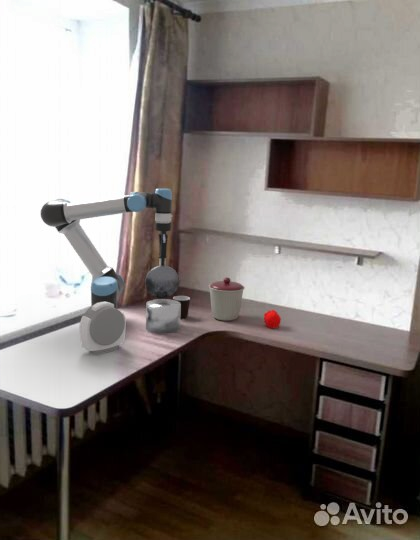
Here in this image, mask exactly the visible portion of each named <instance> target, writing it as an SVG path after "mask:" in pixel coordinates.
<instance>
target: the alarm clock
mask: <svg viewBox="0 0 420 540" xmlns="http://www.w3.org/2000/svg"><path fill="white" fill-rule="evenodd" d="M126 323H127V321H126V316H125V313H124V312H123V311H121V310H120V309H118V308H117V309H116V308H114V304H112V303H109V302H106V301H105V302H99V303H96V304H94V305H93V306H91V305H90V307H89V308H87V310H86V311H85V312H84V314H83V315H81V318H80V323H79V335H80V343H81V347H82V348H83V349H85V350H87V351H88V352H89V353H91V354H92V355H94V356H97V355H102V354H105V353H109V352H113V351H116V350H118V349H119V345H122V344H123V343H125V337H126V329H127V324H126Z"/></svg>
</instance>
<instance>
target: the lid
mask: <svg viewBox="0 0 420 540" xmlns="http://www.w3.org/2000/svg"><path fill="white" fill-rule="evenodd" d="M179 286H180V277H179V275H178V273H177V272H176V270H175V269H174V268H173V267H170V266H168V265H165V266H164V265H161V266H159V265H157V266H154V267H153V268H151V269H150V270H149V271H148V273H147V274H146V277H145V287H146V290H147V292H148V293H149V294H150V295H151V296H153V297H155V298H157V299H158V298H159V299H167V298H169V297H171V296H173V295H174V294H175V293H176V292H177V291H178V288H179Z"/></svg>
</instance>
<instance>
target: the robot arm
mask: <svg viewBox="0 0 420 540" xmlns="http://www.w3.org/2000/svg"><path fill="white" fill-rule="evenodd" d="M172 195H173V192H172V190H171V188H161V187H160V188H156V189H155V192H144V191H142V192H141V191H131V192H130V193H129V194H127V195H120V196H112V197H105V198H100V199H99V198H98V199H91V200H84V201H77V202H76V201H75V202H71V201H70V200H68V199H65V198H64V199H63V198H58V199H55V200H50V201H47V202H45V203H44V204H43V206H42V207H41V209H40V217H41V221H42V222H44V224H45V225H47V226H48V227H53V228H55V229H56V231H57V232H58V233H59V234H63V235H64V237H66V238H65V239H66V240H67V241H68V242H69V244H70V245H71V248H73V250H74V251H75V253H76V254H77V255H78V257H79V258H80V260H81V261H82V263H83V264H84V266H85V267H86V269H87V270H88V272H89V273H90V274H91V276H92V278H91V284H90V285H91V286H90V294H91V295H90V298H91V299H90V302H91V303H90V304H91V305H90V307H91V306H93V305H94V304H96V303H99V302H105V301H106V302H109V303H112V304H114V308H116V309H118V298H119V297H120V296H121V295H122V294H123V293H124V290H125V285H126V284H125V279H124V278H123V277H122V275H121V274H119V273H117V272H116V271H115V269H114V268H113V267H112V266H109V265H107V263H106V262H105V260H104V258H103V257H102V255H101V254H100V252H99V251H98V250H97V248H96V246H95V245H94V244H93V242H92V240H91V239H90V238H89V236H88V235H87V234H86V233H87V232H85V230H84V229H83V227H82V226H81V224H80V222H81V220H86V219H92V218H98V217H99V218H100V217H104V216H114V215H119V214H126V213H138V212H139V213H140V212H142V211H144V210H146V209H147V210H149V209H151V210H155V212H154V213H155V215H154V218H155V219H154V221H155V223H154V226H155V227H154V229H155V231H157V232H159V233H158V235H157V236H158V243H159V244H158V246H159V248H158V252H159V253H158V259H159V265H158V266H161V265H164V266H166V264H167V263H166V258H167V257H168V256H167V248H168V247H167V246H168V234H167V232H171V231H172V223H171V222H172V218H173V216H174V215H172V210H173V209H172V207H173V196H172Z"/></svg>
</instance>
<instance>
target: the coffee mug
mask: <svg viewBox="0 0 420 540" xmlns="http://www.w3.org/2000/svg"><path fill="white" fill-rule="evenodd" d="M172 300H175V301H178V302H180V303H181V316H180V320H186V319H188V315H189V309H190V302H191V298H190V297H189V296H186V295H177V296H173V297H172Z"/></svg>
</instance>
